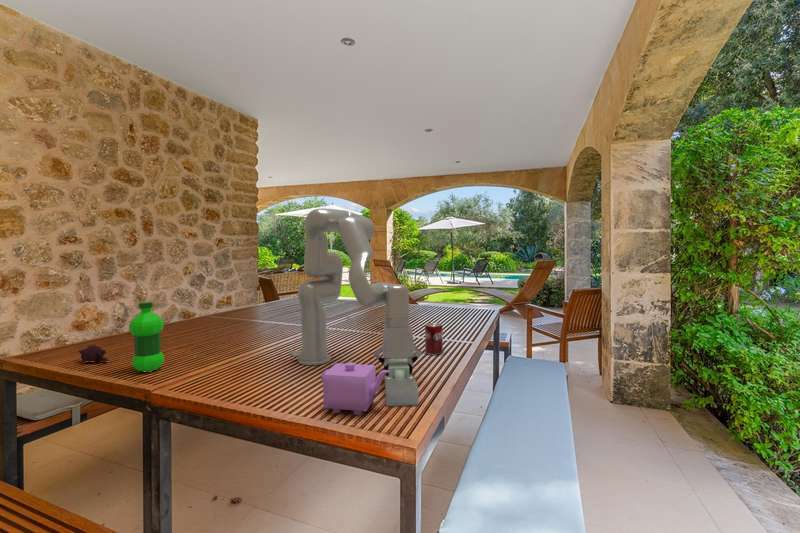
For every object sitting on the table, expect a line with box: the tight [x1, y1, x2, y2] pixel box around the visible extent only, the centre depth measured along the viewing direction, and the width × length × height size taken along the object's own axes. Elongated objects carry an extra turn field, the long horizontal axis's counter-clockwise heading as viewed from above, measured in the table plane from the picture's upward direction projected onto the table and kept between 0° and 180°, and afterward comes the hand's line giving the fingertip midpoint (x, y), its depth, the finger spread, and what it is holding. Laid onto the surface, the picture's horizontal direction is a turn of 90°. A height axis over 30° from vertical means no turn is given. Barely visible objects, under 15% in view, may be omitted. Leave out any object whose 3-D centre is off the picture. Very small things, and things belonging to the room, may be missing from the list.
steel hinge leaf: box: [384, 374, 419, 407], centre depth 114 cm, size 9×12×5 cm
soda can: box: [424, 322, 444, 356], centre depth 160 cm, size 7×7×12 cm
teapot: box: [320, 361, 390, 416], centre depth 107 cm, size 20×10×12 cm, turn 79°
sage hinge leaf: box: [388, 358, 409, 379], centre depth 124 cm, size 6×14×5 cm, turn 4°
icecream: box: [77, 344, 109, 363], centre depth 152 cm, size 7×7×15 cm
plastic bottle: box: [128, 301, 165, 372], centre depth 140 cm, size 10×10×25 cm
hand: (398, 376), depth 126 cm, fingers closed on sage hinge leaf, 6 cm apart
